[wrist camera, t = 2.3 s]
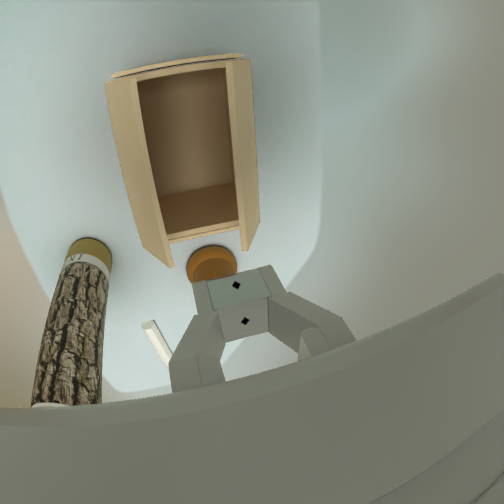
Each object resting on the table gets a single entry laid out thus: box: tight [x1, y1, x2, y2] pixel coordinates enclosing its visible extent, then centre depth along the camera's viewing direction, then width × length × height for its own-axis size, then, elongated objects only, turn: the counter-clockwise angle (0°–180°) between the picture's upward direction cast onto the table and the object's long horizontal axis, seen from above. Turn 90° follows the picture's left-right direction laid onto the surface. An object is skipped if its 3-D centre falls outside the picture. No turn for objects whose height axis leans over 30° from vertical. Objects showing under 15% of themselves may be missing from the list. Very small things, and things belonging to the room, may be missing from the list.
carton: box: [105, 53, 250, 244], centre depth 28 cm, size 17×12×10 cm
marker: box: [141, 320, 172, 369], centre depth 52 cm, size 3×2×16 cm
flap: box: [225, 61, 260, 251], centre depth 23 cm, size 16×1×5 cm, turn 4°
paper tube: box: [31, 239, 112, 408], centre depth 28 cm, size 7×7×25 cm
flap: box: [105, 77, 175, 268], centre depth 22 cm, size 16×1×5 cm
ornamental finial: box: [187, 246, 237, 283], centre depth 41 cm, size 8×8×8 cm
